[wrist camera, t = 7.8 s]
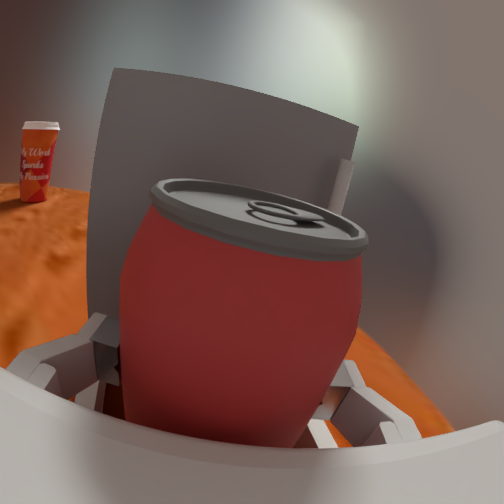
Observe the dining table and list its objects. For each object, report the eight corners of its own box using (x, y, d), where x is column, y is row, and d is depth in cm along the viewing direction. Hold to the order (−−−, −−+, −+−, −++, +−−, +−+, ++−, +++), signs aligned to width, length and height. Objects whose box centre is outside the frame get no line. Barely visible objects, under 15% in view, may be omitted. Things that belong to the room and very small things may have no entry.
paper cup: (9, 203, 36) (17, 121, 32) (22, 193, 43) (30, 121, 38) (47, 205, 40) (56, 121, 35) (56, 195, 46) (65, 122, 42)
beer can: (290, 497, 10) (439, 262, 6) (146, 525, 7) (123, 230, 3) (240, 404, 15) (302, 195, 12) (124, 411, 13) (131, 166, 9)
